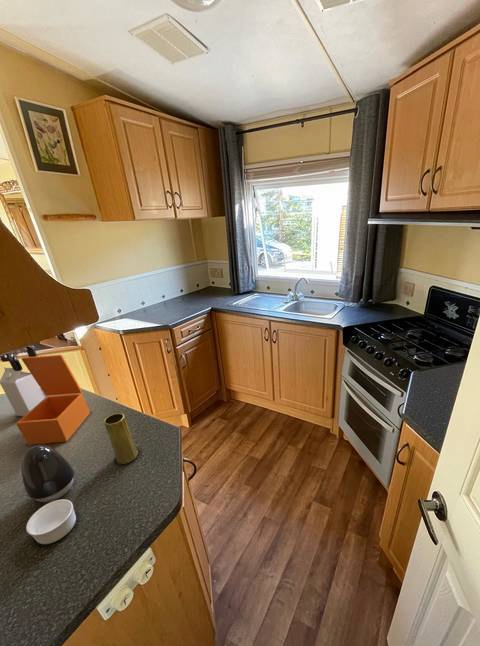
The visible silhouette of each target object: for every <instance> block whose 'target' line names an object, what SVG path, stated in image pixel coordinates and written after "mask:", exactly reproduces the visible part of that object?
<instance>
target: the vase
mask: <svg viewBox="0 0 480 646" xmlns="http://www.w3.org/2000/svg"><path fill="white" fill-rule="evenodd" d="M103 425H104V426H105V429H106V432H107V434H108V437H109V441H110V444H111V447H112V449H113V453H114V455H115V461H116V463H117V464H121V465H125V464H129V463H131V462H133V461H134V460H135V459H136V458H137V457H138V455H139V451H138V448H137V446H136V444H135V442H134V439H133V437H132V434H131V431H130V429H129V425H128V422H127V420H126V416H125V414H124V413H121V412H115V413H112V414H110V415H108V416H106V417H105V418H104V420H103Z"/></svg>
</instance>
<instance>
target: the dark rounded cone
mask: <svg viewBox="0 0 480 646" xmlns="http://www.w3.org/2000/svg"><path fill="white" fill-rule="evenodd" d="M21 476H22V478H21V479H22V482H23V483H22V484H23V486H24V490H25V492H26V495H27V496H28V497H29V498H31V499H33V500H35V501H36V502H40V503H50V502H53V501H56V500H59V499H60V498H61V497H63V496H64V495H66V494H67V493H68V492H69V491H70V489H71V488H72V485H73V483H74V479H75V478H74V477H75V471H74V468H73V467H72V465H71V464H70V462H69V461H68V460H67V459H66V458H65V457H64V456H63V455H62V454H61V453H59V451H58V450H55V449H54V448H52V447H51V446H48V445H46V444H36V445H34V446H31V447H30V448H28V449H27V451H26V452H25V453H24V454H23V457H22V461H21Z"/></svg>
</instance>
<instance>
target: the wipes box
mask: <svg viewBox="0 0 480 646" xmlns="http://www.w3.org/2000/svg"><path fill="white" fill-rule="evenodd" d="M90 414H91V412H90V409H89V407H88V404H87V402H86V399H85V397H84V394H83V393H76V394H63V395H51V396H45V397H44V399H43V400H42V401H41V402H40V403H39V404H38V405H36V406H35V407H34V408H33V409H32V410H31V411H30V412H28V413H27V414H26V415H25V416H22V417H21V418H20V419H19V420H18V421H17V422H16V423H15V425H16V427H18V430H19V431H20V433H21V436H22V437H23V439H24V441H25V443H26V444H27V445H28V446H29V445H43V444H52V443H54V444H55V443H64V442H68V441H69V440H70V438H71V437H72V436H73V435H74V434H75V433H76V432H77V430H78V429H79V427H80V426H81V425H82V424H83V423H84V422H85V420H86V419H87V418H88V416H89V415H90Z"/></svg>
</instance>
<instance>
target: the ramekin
mask: <svg viewBox="0 0 480 646" xmlns="http://www.w3.org/2000/svg"><path fill="white" fill-rule="evenodd" d="M76 521H77V515H76V513H75V509H74V504H73V502H72V501H71V500H69V499H66V498H65V499H64V498H63V499H56V500H53V501H50V502H47V504H45V505H43V506H42V507H40V508H39V509H38V510H36V511H35V512H34V513H33V514H32V515H31V516H30V517H29V519H28V520H27V523H26V526H25V531H26V532H27V534H29V536H31V537H32V538H33V539H34V540H35V541H36V543H38V544H41V545H50V544H52V543H55V542H57V541H59V540H61V539H63V538H64V537H65V536H67V534H69V532H71V531H72V529H73V528H74V526H75V524H76Z"/></svg>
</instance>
